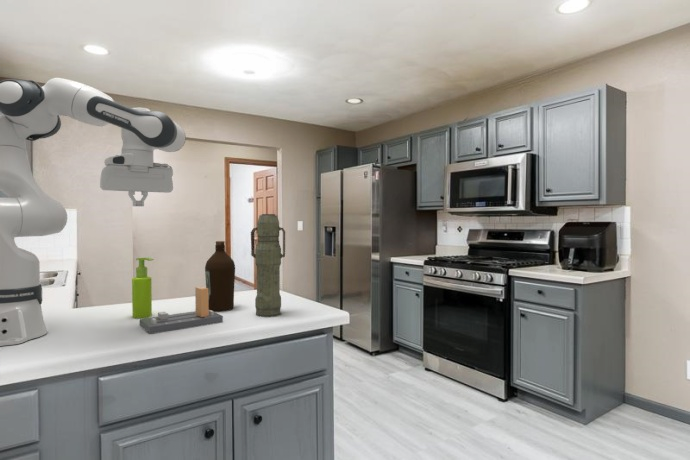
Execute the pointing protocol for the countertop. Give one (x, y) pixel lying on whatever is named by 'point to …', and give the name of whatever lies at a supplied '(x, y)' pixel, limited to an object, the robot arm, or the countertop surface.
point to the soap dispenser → (141, 291)
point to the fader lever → (202, 301)
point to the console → (177, 321)
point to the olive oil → (220, 279)
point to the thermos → (268, 265)
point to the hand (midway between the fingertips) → (138, 206)
